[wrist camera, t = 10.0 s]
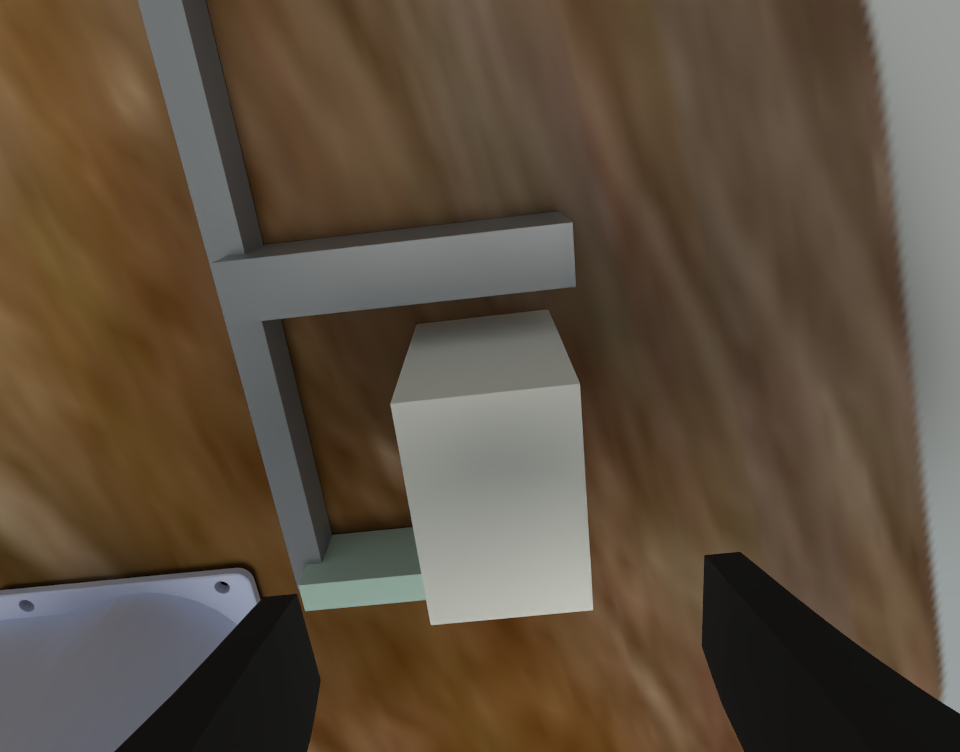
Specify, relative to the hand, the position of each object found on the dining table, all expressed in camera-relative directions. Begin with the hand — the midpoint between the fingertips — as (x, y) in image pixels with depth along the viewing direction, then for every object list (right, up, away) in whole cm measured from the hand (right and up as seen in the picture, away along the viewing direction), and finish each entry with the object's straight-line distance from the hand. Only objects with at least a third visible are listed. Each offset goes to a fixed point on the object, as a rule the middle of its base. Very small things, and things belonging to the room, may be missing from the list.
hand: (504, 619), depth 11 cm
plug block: (0, +3, +9) cm, 9 cm away
